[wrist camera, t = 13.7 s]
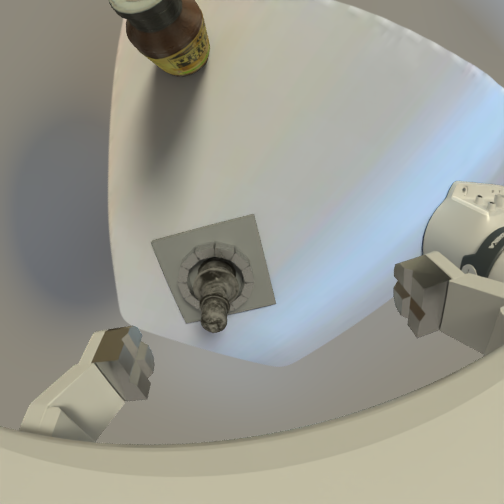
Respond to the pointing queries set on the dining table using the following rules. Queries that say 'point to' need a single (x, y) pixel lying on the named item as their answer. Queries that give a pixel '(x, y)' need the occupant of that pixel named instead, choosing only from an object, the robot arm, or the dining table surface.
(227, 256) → the ring
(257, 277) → the board
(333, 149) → the dining table surface
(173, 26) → the sauce bottle
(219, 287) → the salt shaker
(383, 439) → the robot arm
